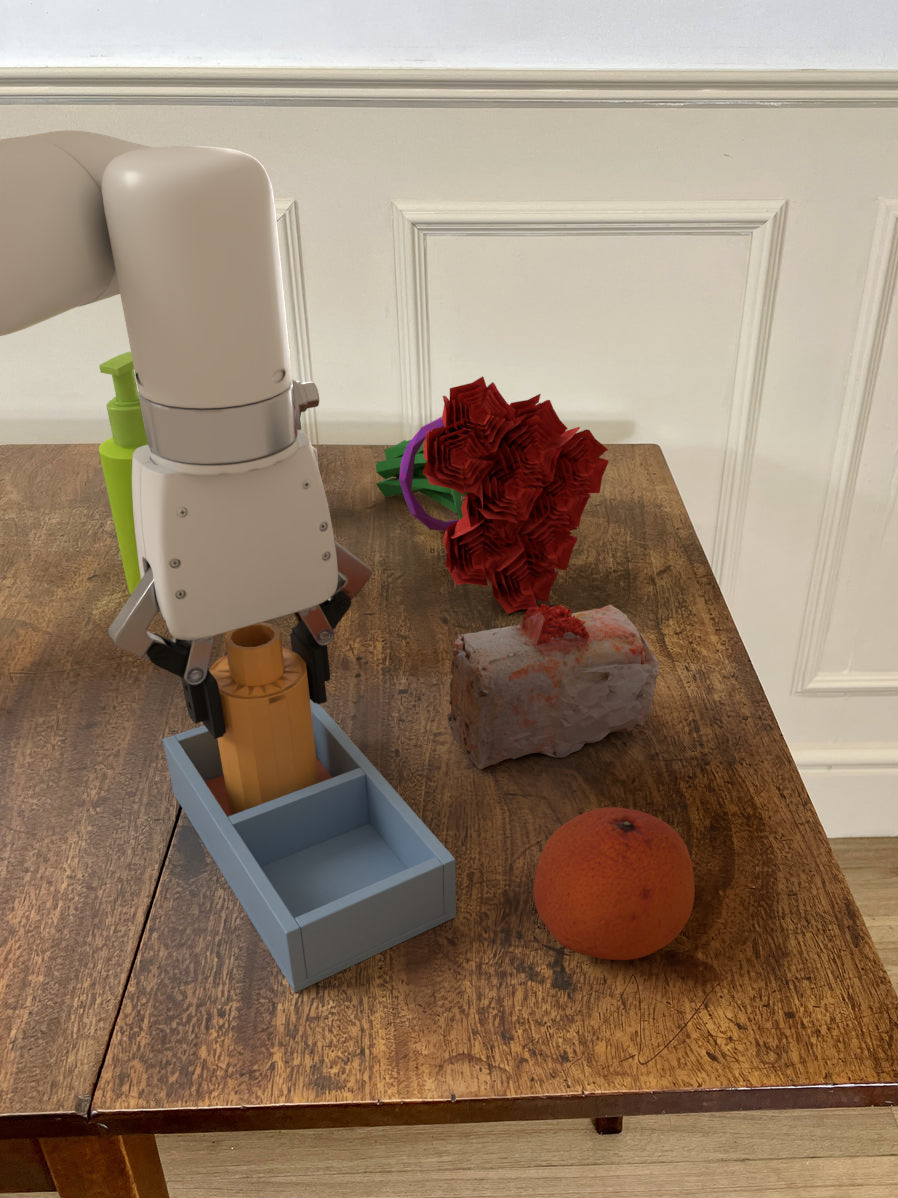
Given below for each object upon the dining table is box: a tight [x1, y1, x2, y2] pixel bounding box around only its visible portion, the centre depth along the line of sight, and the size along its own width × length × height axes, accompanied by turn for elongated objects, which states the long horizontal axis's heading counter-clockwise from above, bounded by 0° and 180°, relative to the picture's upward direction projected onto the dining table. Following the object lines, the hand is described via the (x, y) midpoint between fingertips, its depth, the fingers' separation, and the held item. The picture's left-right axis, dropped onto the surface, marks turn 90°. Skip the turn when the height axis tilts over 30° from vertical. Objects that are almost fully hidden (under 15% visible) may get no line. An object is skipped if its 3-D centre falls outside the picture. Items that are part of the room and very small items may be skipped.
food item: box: [447, 603, 660, 770], centre depth 72 cm, size 14×8×10 cm, turn 115°
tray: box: [161, 699, 457, 993], centre depth 63 cm, size 10×19×5 cm, turn 34°
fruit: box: [532, 806, 696, 961], centre depth 58 cm, size 9×9×8 cm
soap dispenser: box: [98, 351, 148, 596], centre depth 87 cm, size 6×7×20 cm
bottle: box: [209, 622, 319, 815], centre depth 64 cm, size 6×6×12 cm
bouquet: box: [375, 375, 609, 615], centre depth 97 cm, size 20×16×30 cm
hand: (262, 706), depth 63 cm, fingers closed on bottle, 5 cm apart
